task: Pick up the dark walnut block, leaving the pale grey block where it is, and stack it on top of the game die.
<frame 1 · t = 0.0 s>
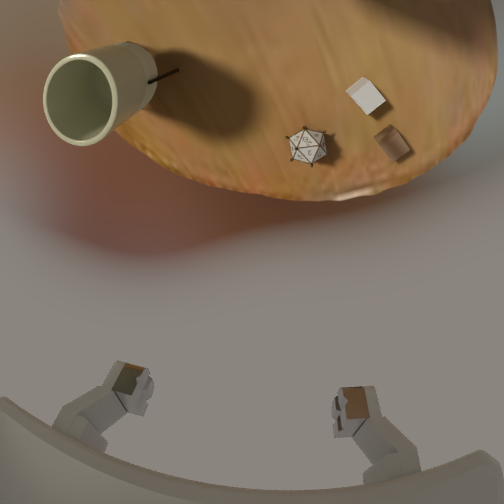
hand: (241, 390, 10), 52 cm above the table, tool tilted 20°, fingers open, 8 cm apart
planter: (142, 71, 44), on the table
grey block: (361, 92, 44), on the table
walnut block: (388, 138, 50), on the table
game die: (306, 138, 53), on the table
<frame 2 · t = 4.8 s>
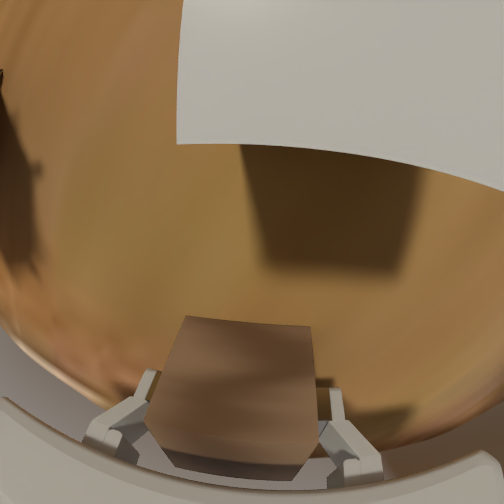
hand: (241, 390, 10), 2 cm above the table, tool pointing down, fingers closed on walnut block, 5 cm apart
grey block: (326, 58, 6), on the table
walnut block: (245, 362, 12), on the table, touching gripper
when the fingers open (11 cm above the table, at t = 9.9 s): walnut block drops 2 cm, resting on game die.
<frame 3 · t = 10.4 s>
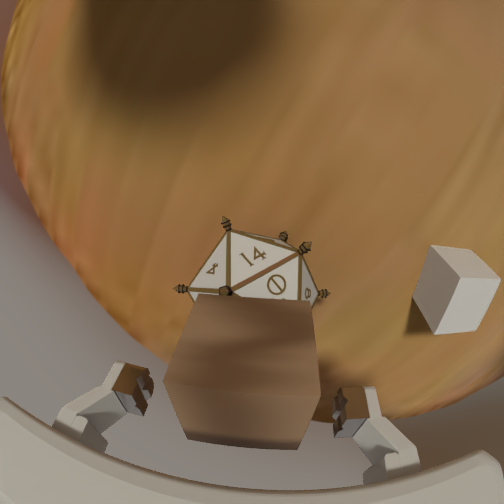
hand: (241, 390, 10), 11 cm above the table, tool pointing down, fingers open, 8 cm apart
grey block: (442, 272, 19), on the table
walnut block: (252, 337, 13), point 8 cm above the table, touching game die
game die: (259, 259, 20), on the table, touching walnut block
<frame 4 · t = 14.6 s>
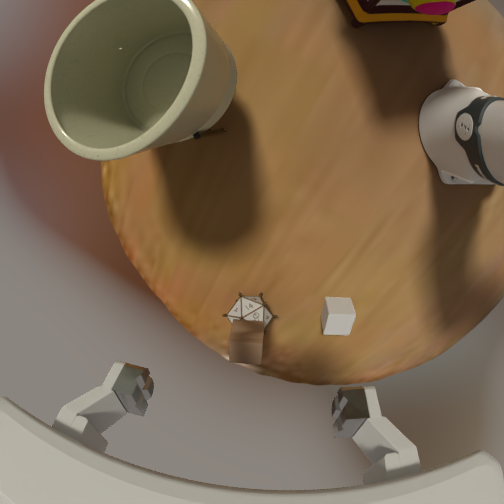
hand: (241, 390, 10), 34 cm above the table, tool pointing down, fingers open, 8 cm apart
planter: (193, 89, 34), on the table
grey block: (335, 307, 50), on the table
walnut block: (248, 331, 44), point 8 cm above the table, touching game die
game die: (252, 301, 51), on the table, touching walnut block
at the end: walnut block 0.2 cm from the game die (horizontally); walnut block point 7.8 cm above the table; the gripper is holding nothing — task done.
